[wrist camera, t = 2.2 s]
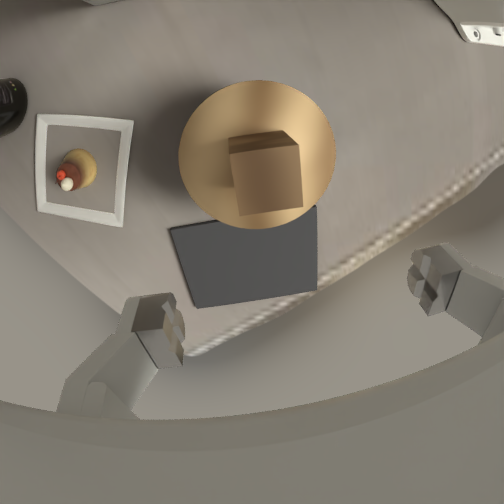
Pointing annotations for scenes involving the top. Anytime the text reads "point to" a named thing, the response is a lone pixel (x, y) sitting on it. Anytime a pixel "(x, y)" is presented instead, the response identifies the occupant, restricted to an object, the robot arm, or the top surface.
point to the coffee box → (99, 2)
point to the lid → (257, 154)
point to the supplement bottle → (11, 105)
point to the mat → (248, 260)
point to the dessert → (81, 167)
